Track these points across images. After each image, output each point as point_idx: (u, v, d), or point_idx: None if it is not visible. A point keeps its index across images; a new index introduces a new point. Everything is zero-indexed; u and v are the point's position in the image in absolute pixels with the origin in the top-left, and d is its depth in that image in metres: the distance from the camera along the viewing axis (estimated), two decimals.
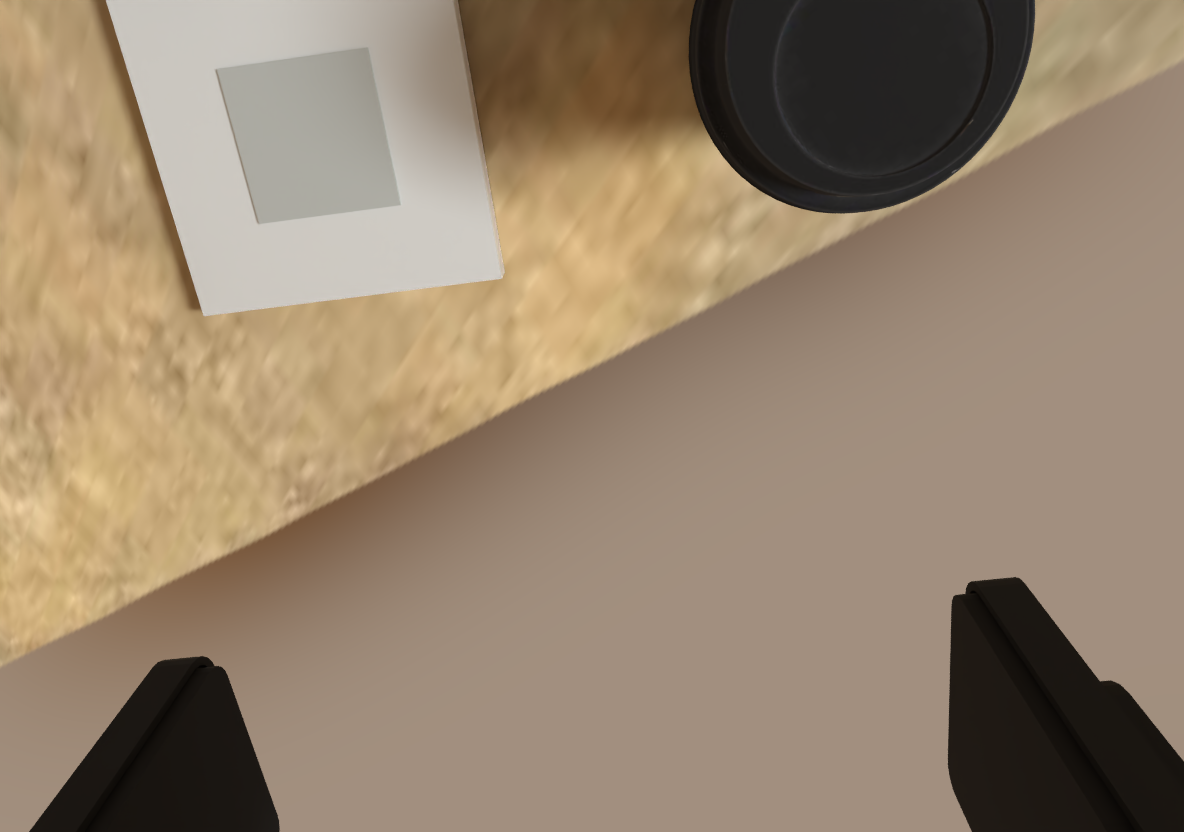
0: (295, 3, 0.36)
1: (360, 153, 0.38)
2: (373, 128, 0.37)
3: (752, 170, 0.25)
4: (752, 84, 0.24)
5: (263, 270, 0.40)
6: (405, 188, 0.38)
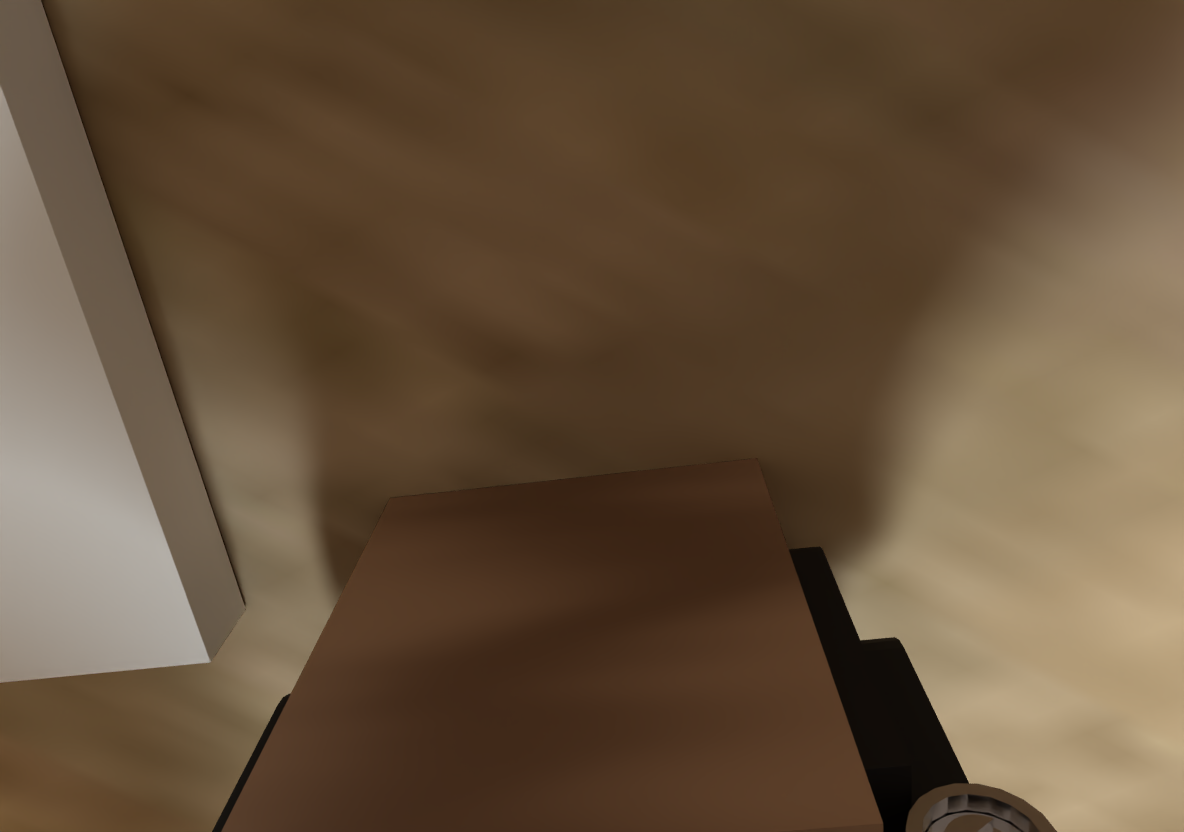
0: None
1: None
2: None
3: None
4: None
5: None
6: None
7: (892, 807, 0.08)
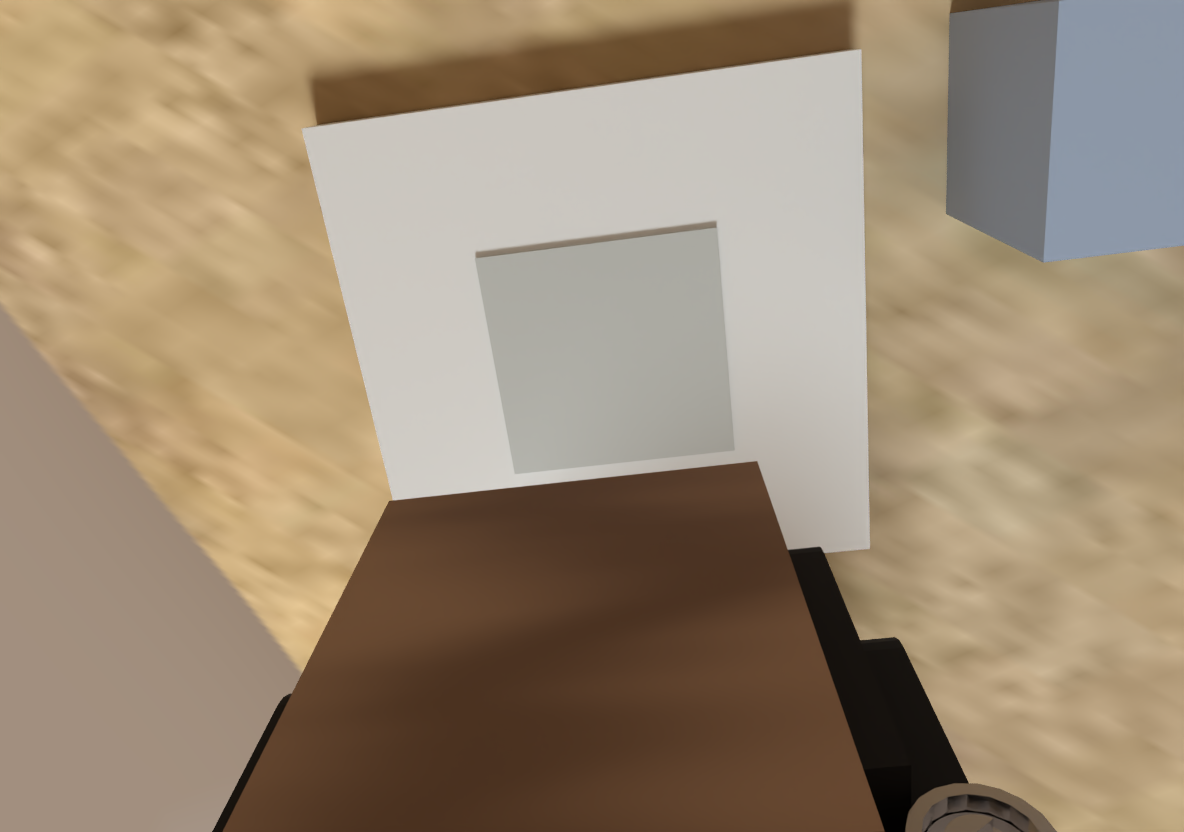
0: (799, 356, 0.24)
1: (589, 426, 0.25)
2: (624, 447, 0.25)
3: None
4: None
5: (396, 250, 0.24)
6: (539, 479, 0.26)
7: (892, 807, 0.08)
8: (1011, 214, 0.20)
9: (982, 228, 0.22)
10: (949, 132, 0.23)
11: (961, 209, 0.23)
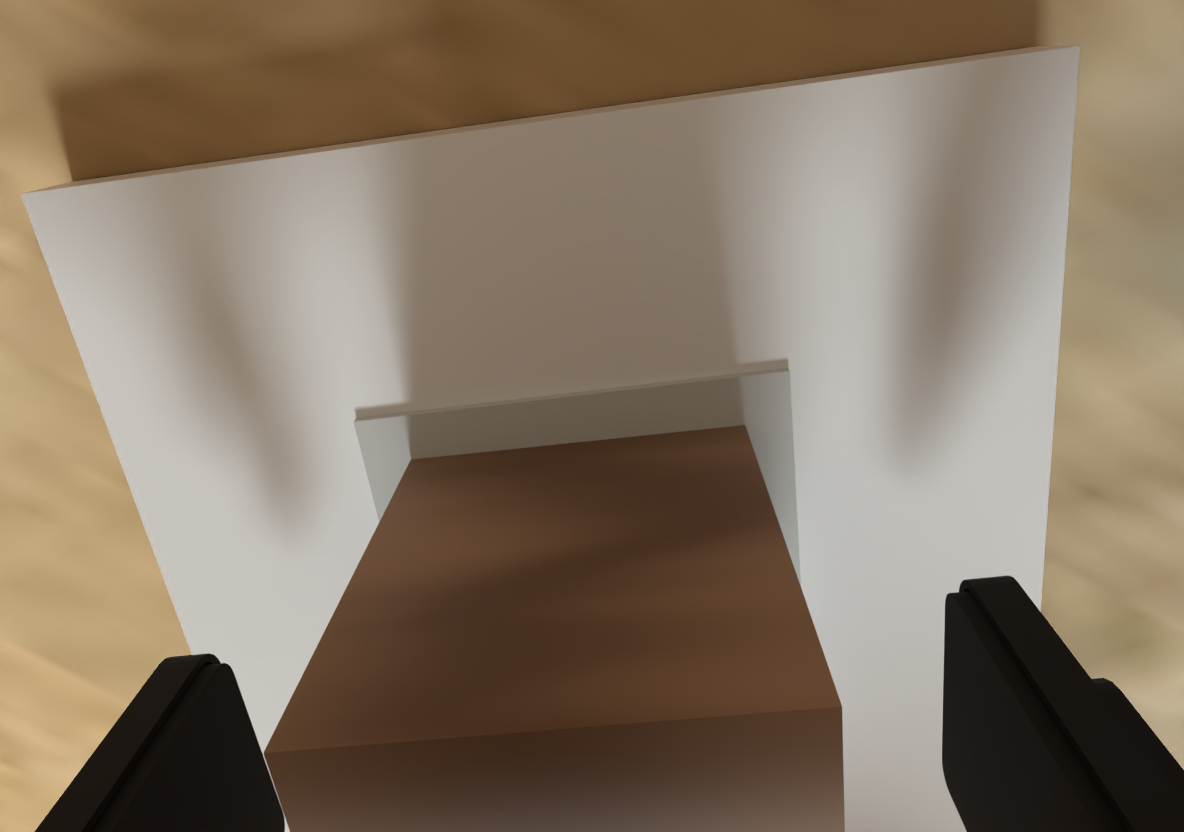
0: (926, 580, 0.14)
1: None
2: None
3: None
4: None
5: (214, 405, 0.13)
6: None
7: None
8: None
9: None
10: None
11: None
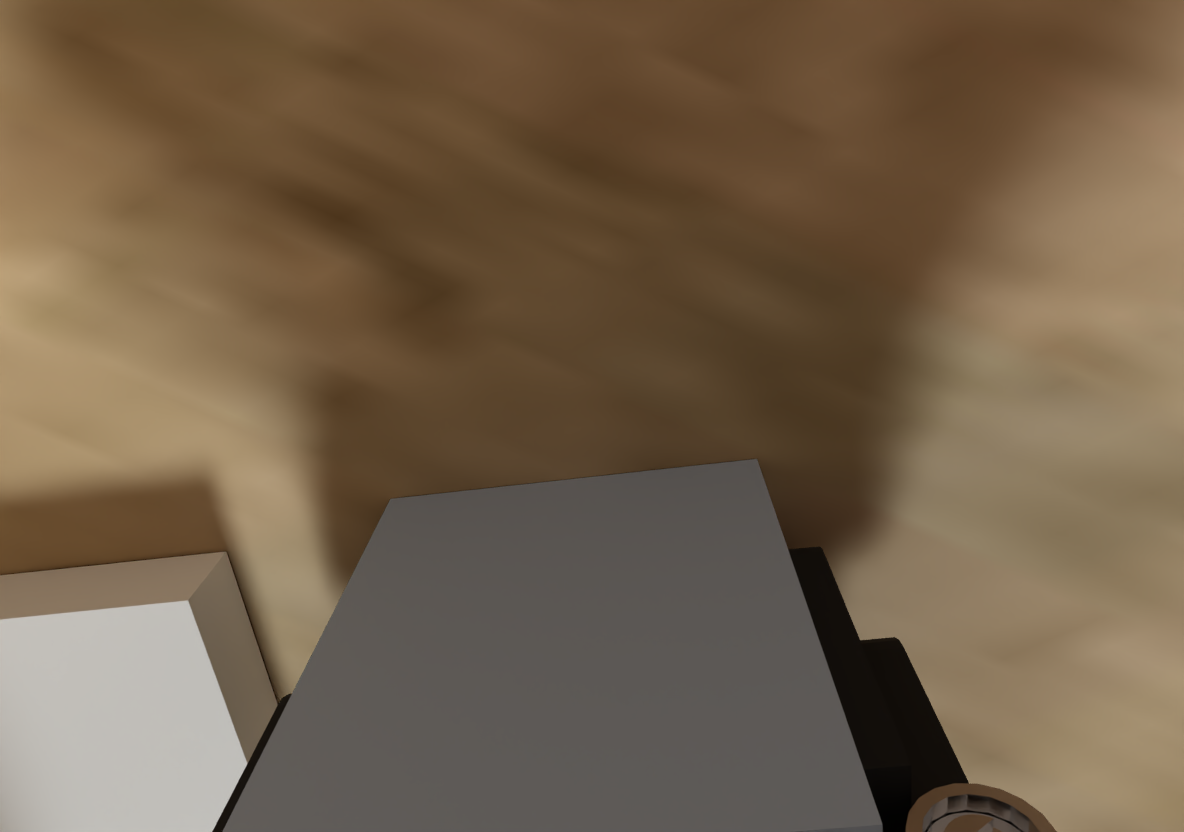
0: None
1: None
2: None
3: None
4: None
5: None
6: None
7: (892, 807, 0.08)
8: None
9: None
10: None
11: None
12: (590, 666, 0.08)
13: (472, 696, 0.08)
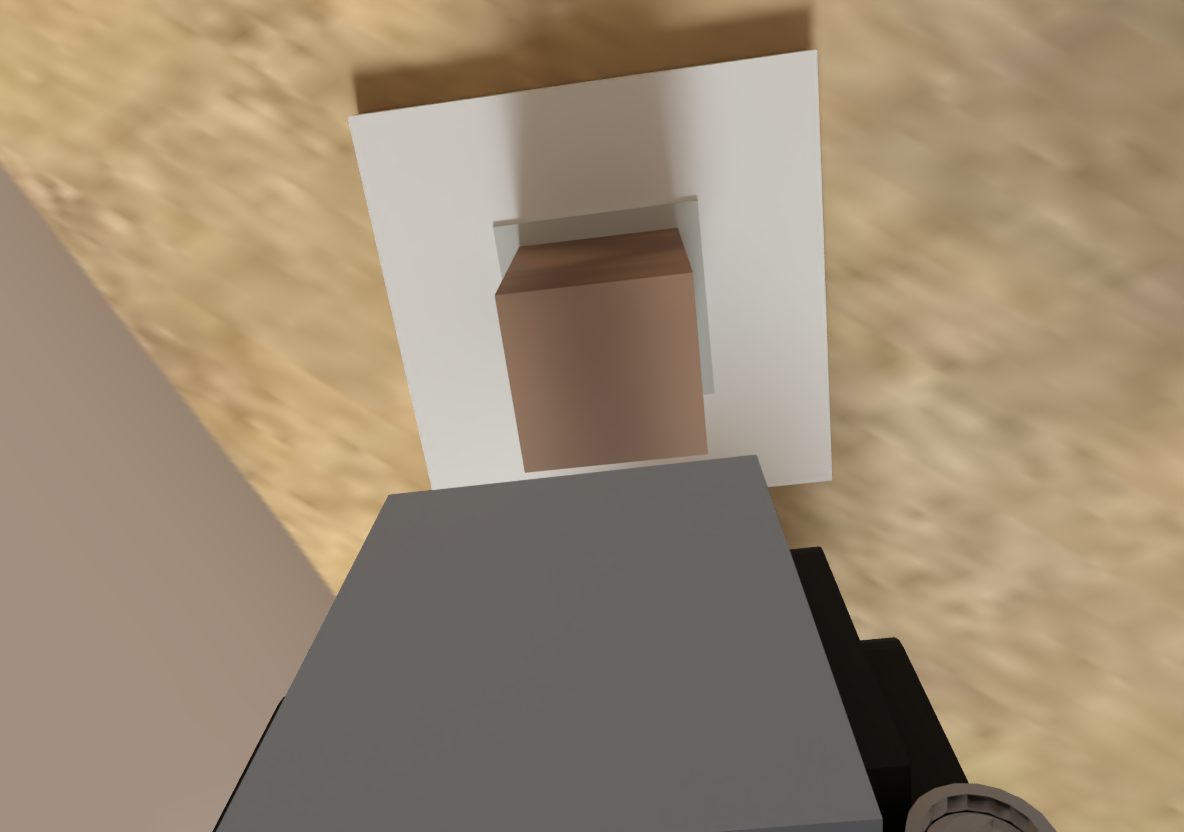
0: (769, 311, 0.29)
1: None
2: None
3: None
4: None
5: (426, 220, 0.28)
6: None
7: (892, 807, 0.08)
8: None
9: None
10: None
11: None
12: (589, 661, 0.08)
13: (469, 690, 0.08)
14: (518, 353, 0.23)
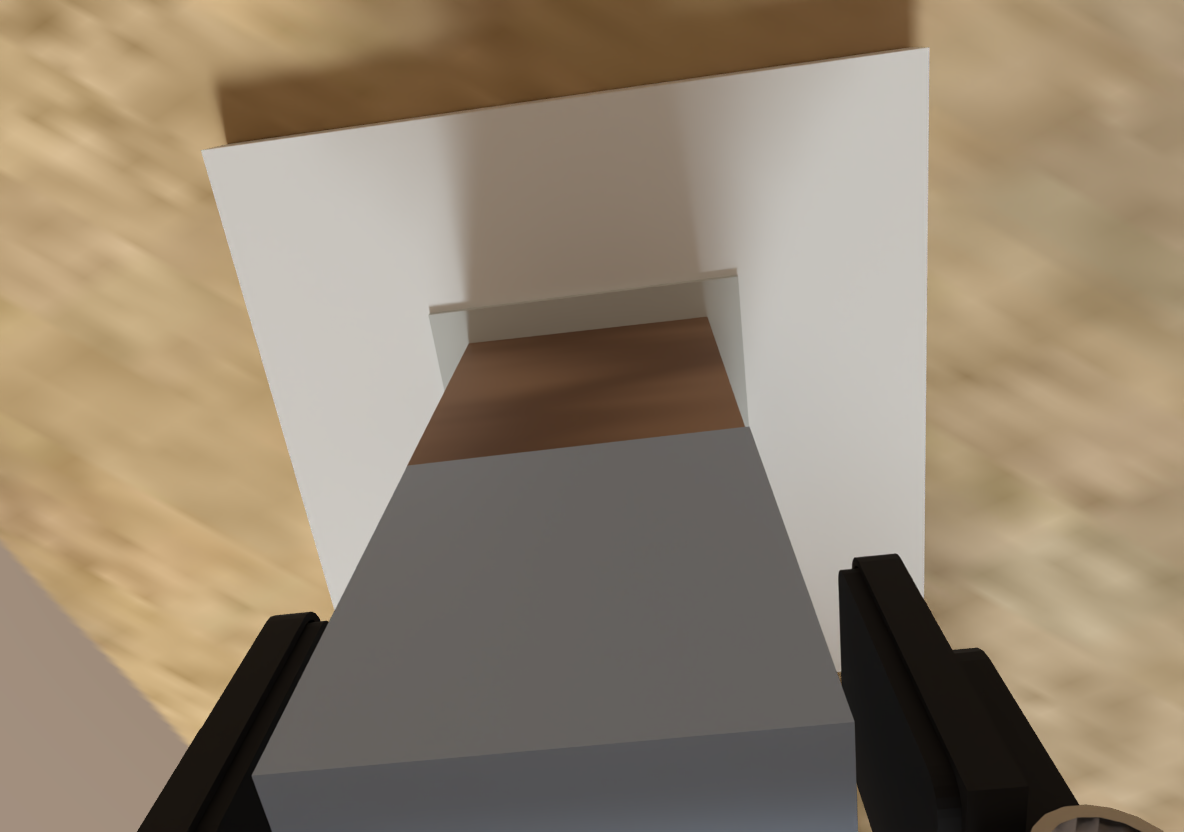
0: (841, 435, 0.19)
1: None
2: None
3: None
4: None
5: (328, 304, 0.18)
6: None
7: (1005, 830, 0.08)
8: None
9: None
10: None
11: None
12: (596, 602, 0.09)
13: (489, 628, 0.09)
14: None
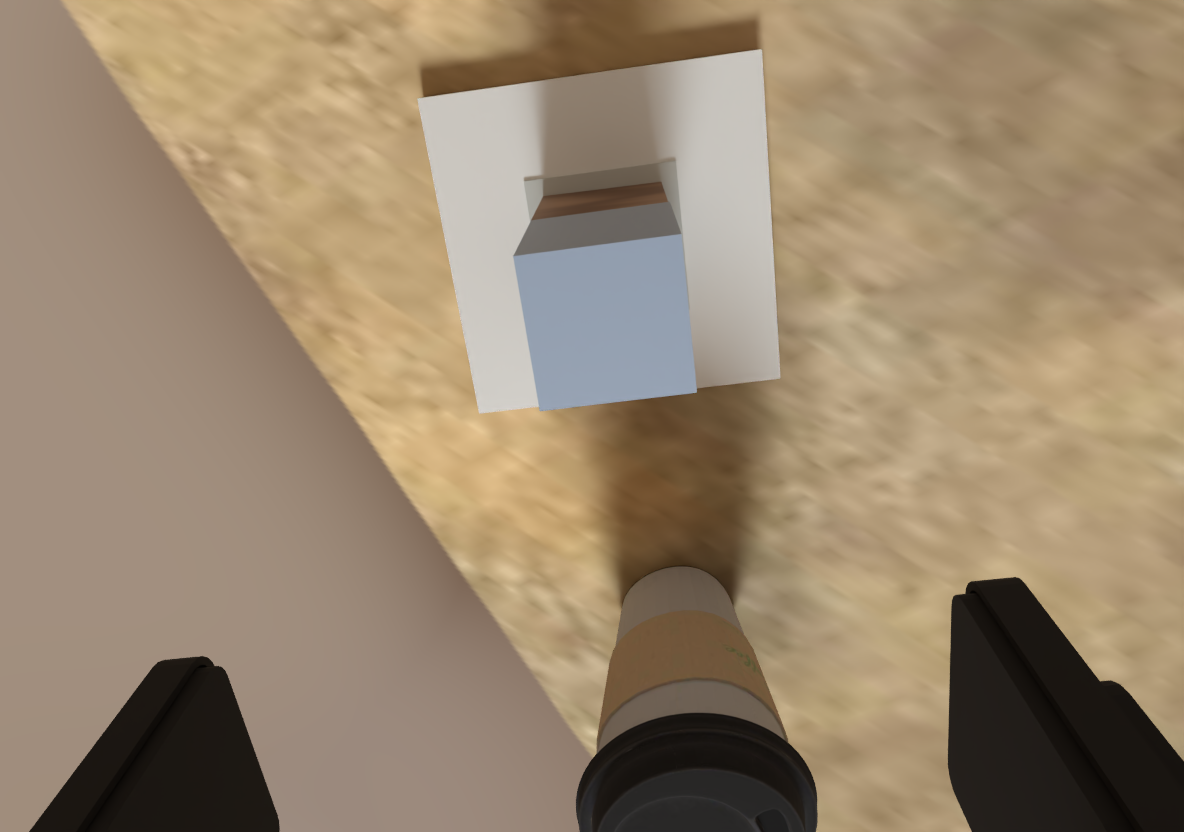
0: (730, 245, 0.38)
1: None
2: None
3: (611, 766, 0.33)
4: (676, 785, 0.32)
5: (473, 176, 0.37)
6: None
7: None
8: None
9: None
10: None
11: None
12: (610, 230, 0.28)
13: (575, 236, 0.28)
14: None
